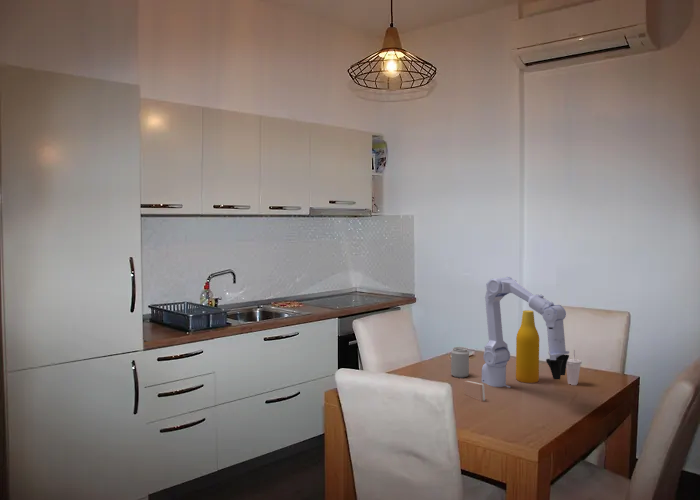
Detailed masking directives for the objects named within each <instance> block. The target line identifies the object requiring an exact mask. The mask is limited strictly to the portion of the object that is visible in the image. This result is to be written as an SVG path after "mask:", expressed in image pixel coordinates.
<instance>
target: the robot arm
mask: <svg viewBox="0 0 700 500" xmlns="http://www.w3.org/2000/svg"><path fill="white" fill-rule="evenodd" d="M485 287H486V292H485V297H484V298H485V310H486V321H487V323H486V324H487V332H488V333H487V336H488V342H486V344H485V345H484V352H483V361H484V362H485V363H484V364H483V365H482V368H481V383H482V384H486V385H488V386H491V387H496V388H502V387H506V388H509V389H510V388H511V387H512V386H510V385H507V365H508V362H509V361H510V359H511V353H510V350H509V347H508V343H506V342H505V341H504V337H503V327H502V326H503V325H502V314H501V303H500V302H501V300H502V299H504V298H505V296H507V295H509V294H513V295H515V296H516V297H518V298H520V299H521V300H524V301H525V302H527V304H528V307H529V308H530V309H532V311H535V312H537V313H538V314H539V315H541V316H542V319H543V321H544V322H545V326H546V331H547V333H546V334H547V345H548V355H549V358H546V359H545V361H546V363H547V365H548V367H549V369H550V372H551V375H552V378H553V380H561V376H565V375H566V373H567V371H566V364H567V361H568V359H570V355H569V354H570V351H569V350H566V340H565V338H566V337H565V327H564V320H565V319H566V316H567V312H566V309H565V308H564V307H563V306H562V304H561V305H560V304H555V303H554V302H553V301H549V300H547V299H546V298H544V295H542V294H533V293H532V292H530V291H529V290H527V289H526V288H525V287H523V286H522V285H521V284H520V283H518V282H517V280H516V279H513V278H512V277H511V276H506V277H495V278H490V279H489V280H488V282H487V283H486V285H485Z"/></svg>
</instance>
